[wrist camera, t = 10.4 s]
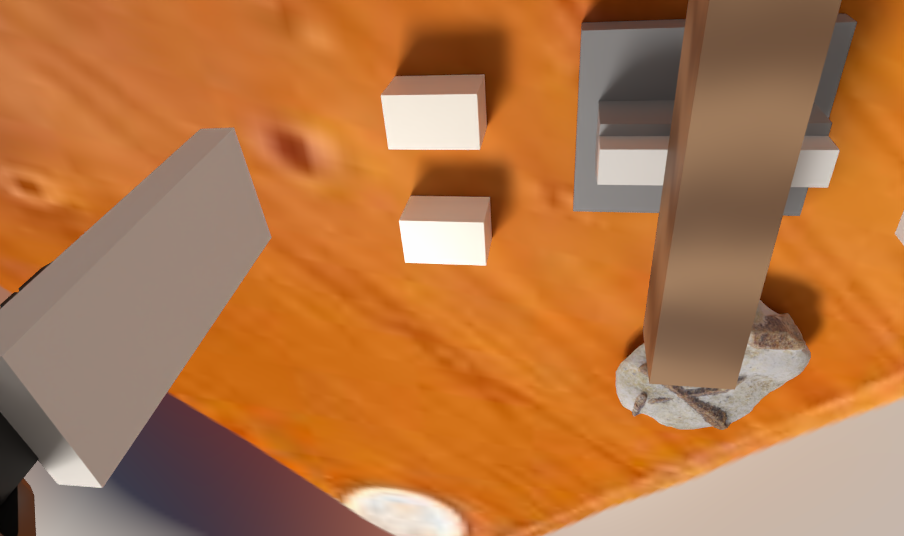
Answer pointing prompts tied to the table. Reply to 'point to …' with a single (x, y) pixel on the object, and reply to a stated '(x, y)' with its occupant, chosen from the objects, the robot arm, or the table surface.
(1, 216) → the table surface
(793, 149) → the bar
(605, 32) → the fulcrum
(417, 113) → the blocks
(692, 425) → the stone
